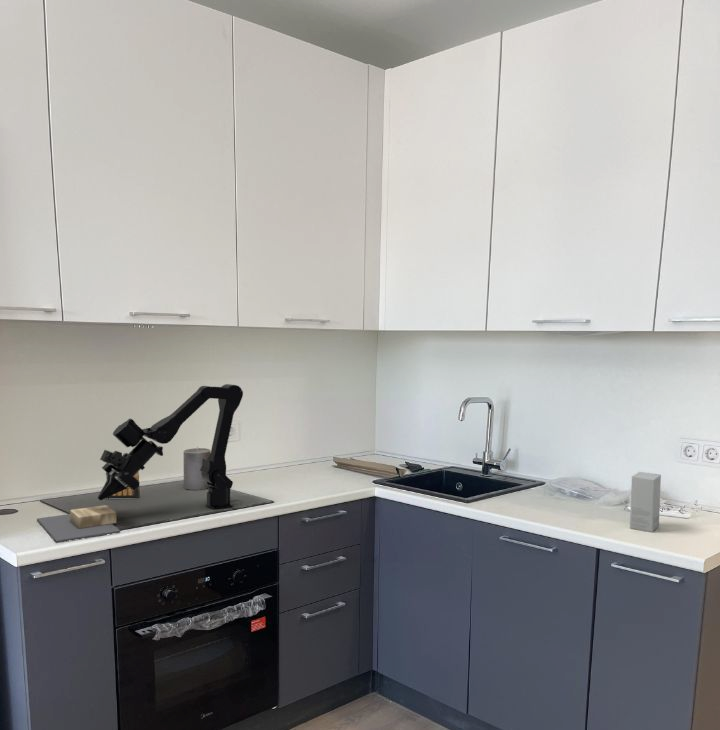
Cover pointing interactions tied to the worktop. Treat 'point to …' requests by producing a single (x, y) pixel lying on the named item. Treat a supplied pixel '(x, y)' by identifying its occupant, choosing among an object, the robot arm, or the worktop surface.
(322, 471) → the worktop surface
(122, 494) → the ammunition clip
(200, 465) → the pillar candle
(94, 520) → the wooden block
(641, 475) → the skincare box
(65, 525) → the rubber mat
